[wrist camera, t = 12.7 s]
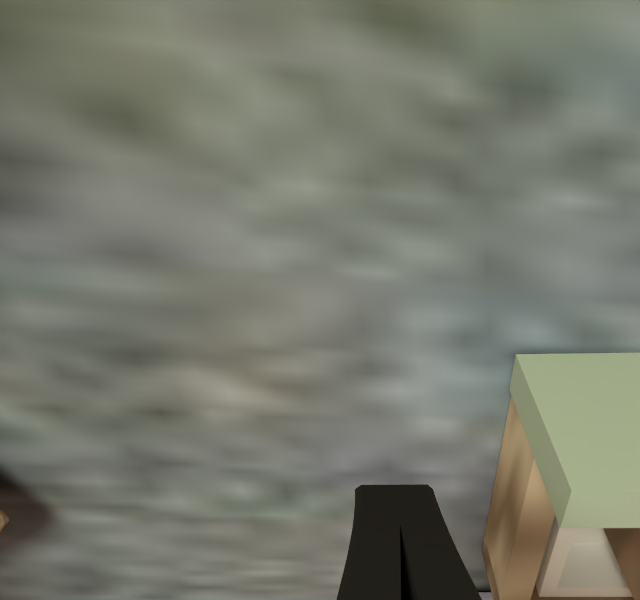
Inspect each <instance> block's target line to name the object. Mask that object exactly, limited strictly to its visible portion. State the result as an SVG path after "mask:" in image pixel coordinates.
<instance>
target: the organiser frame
mask: <svg viewBox="0 0 640 600" xmlns="http://www.w3.org/2000/svg"><path fill="white" fill-rule="evenodd" d="M554 517H555V512H554V510H553V507H552V504H551V502H550V499H549V496H548V493H547V491H546V488H545V485H544V482H543V480H542V477H541V474H540V472H539V469H538V466H537V463H536V461H535V458H534V455H533V453H532V450H531V447H530V444H529V442H528V439H527V436H526V433H525V431H524V428H523V425H522V423H521V420H520V417H519V414H518V412H517V409H516V406H515V403H514V401H513V398H512V395H511V400H510V406H509V411H508V416H507V421H506V426H505V432H504V437H503V442H502V447H501V452H500V458H499V463H498V468H497V473H496V478H495V484H494V489H493V494H492V499H491V504H490V510H489V515H488V520H487V525H486V531H485V536H484V541H483V546H482V554H483V558H484V562H485V567H486V571H487V575H488V580H489V584H490V588H491V593H492V597H493V600H634V598H633V597H539V595H538V592H537V589H536V585H535V582H536V579H537V576H538V572H539V569H540V565H541V562H542V558H543V555H544V551H545V548H546V544H547V541H548V537H549V534H550V530H551V527H552V524H553V520H554Z"/></svg>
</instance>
